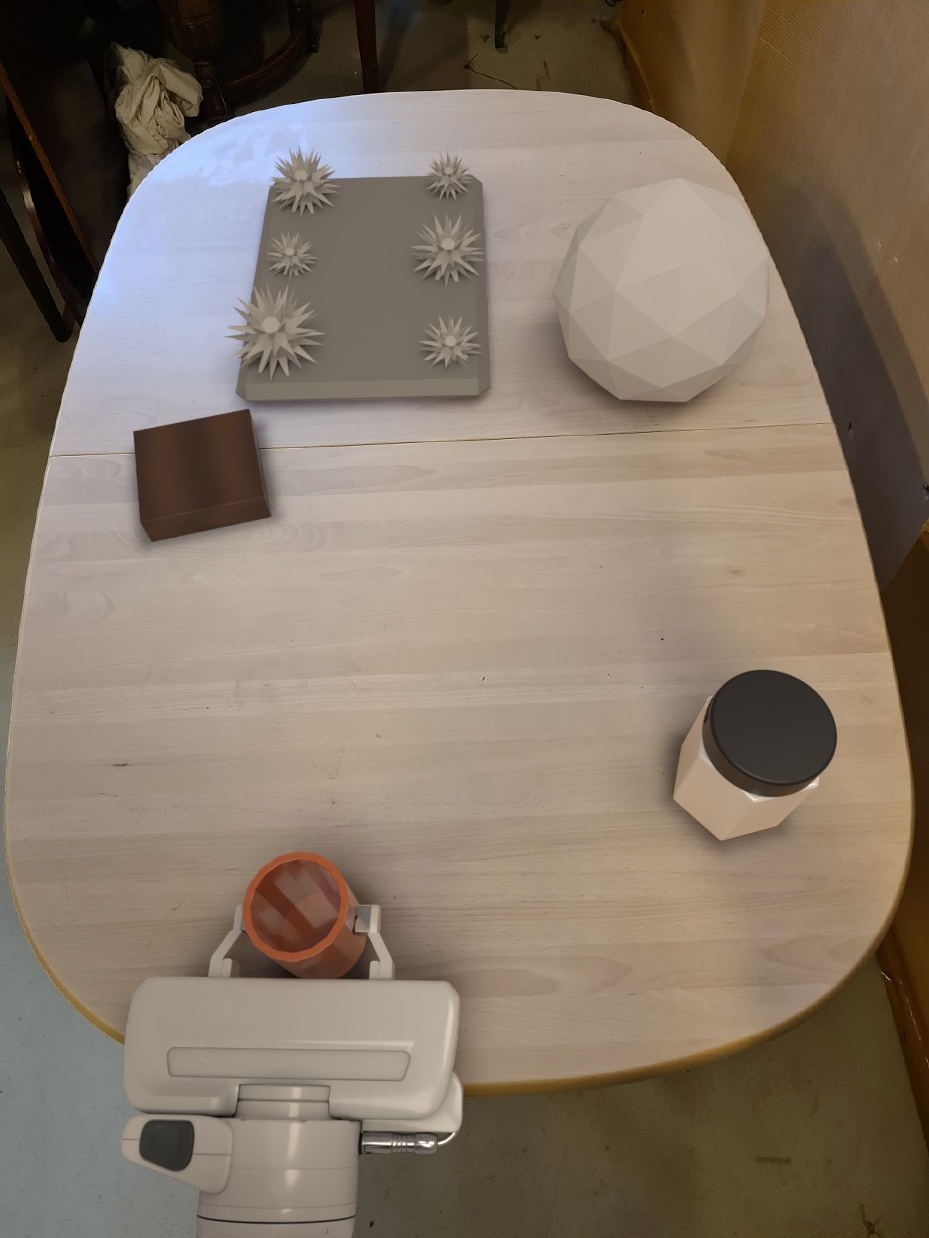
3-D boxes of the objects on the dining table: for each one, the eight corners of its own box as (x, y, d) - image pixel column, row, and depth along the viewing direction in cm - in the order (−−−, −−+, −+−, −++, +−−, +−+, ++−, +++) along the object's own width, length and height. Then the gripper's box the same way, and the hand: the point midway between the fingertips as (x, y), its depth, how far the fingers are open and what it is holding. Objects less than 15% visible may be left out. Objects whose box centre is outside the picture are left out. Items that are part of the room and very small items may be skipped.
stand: (151, 542, 78) (140, 522, 75) (143, 452, 83) (132, 431, 81) (271, 516, 79) (264, 496, 76) (256, 429, 84) (249, 408, 82)
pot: (284, 993, 59) (249, 973, 50) (271, 900, 62) (236, 866, 53) (375, 968, 59) (356, 944, 51) (358, 877, 63) (338, 840, 54)
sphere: (658, 388, 95) (792, 229, 84) (679, 479, 80) (847, 299, 69) (517, 293, 90) (640, 108, 79) (511, 370, 74) (663, 155, 63)
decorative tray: (490, 409, 85) (491, 330, 76) (232, 416, 85) (203, 338, 77) (482, 192, 102) (482, 107, 94) (267, 197, 103) (247, 114, 94)
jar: (760, 723, 68) (810, 654, 58) (804, 821, 64) (867, 765, 54) (653, 749, 67) (684, 684, 57) (692, 850, 63) (733, 800, 53)
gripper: (462, 1158, 47) (466, 896, 53) (90, 1150, 47) (141, 892, 54) (464, 1153, 52) (467, 916, 59) (131, 1146, 52) (172, 912, 59)
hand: (309, 904), depth 56 cm, fingers closed on pot, 6 cm apart
